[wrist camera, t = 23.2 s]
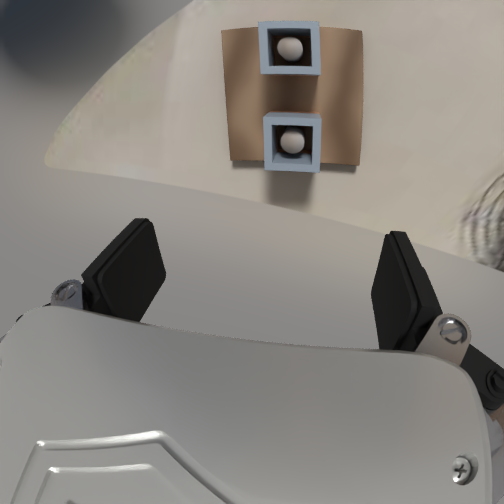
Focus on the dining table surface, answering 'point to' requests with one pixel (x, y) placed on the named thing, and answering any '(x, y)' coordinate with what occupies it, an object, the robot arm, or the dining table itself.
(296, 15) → the dining table surface
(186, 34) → the dining table surface
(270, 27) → the sleeve
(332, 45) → the pin board
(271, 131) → the sleeve
